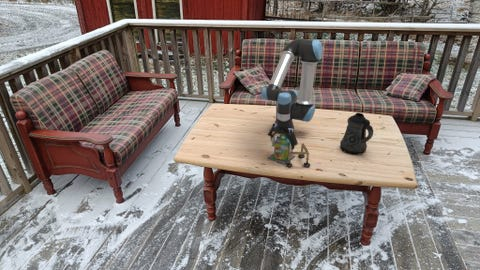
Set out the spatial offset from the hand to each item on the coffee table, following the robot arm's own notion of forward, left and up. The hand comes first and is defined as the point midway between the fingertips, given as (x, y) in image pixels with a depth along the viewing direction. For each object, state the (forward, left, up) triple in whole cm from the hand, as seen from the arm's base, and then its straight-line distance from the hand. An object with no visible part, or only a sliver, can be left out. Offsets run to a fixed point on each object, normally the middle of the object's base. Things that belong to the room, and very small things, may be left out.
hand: (281, 149), depth 208 cm
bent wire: (+13, +2, -6) cm, 14 cm away
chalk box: (0, 0, -5) cm, 5 cm away
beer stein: (+31, +39, -6) cm, 50 cm away
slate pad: (0, 0, -6) cm, 6 cm away
